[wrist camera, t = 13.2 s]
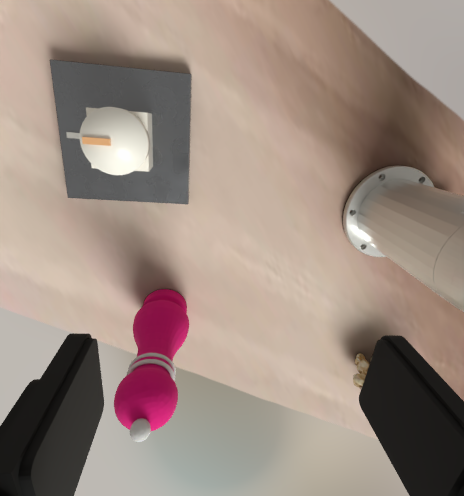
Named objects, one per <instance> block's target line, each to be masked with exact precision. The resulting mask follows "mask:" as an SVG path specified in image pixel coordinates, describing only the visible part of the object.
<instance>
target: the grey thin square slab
mask: <svg viewBox="0 0 464 496" xmlns="http://www.w3.org/2000/svg"><path fill="white" fill-rule="evenodd" d="M50 65H51V73H52V80H53V88H54V95H55V103H56V111H57V118H58V126H59V133H60V141H61V149H62V156H63V164H64V171H65V179H66V187H67V194H68V198H83V199H101V200H120V201H138V202H156V203H175V204H188V202H189V163H190V121H191V80H192V76H191V74H185V73H175V72H165V71H156V70H146V69H136V68H126V67H117V66H107V65H97V64H87V63H78V62H68V61H58V60H50ZM86 107H88V108H102V107H116V108H121V109H125V110H127V111H134V112H145V113H152V137H153V167H152V168H151V170H150V171H149V172H146V171H133V172H131V173H129V174H125V175H111V174H107V173H105V172H102V171H101V170H99V169H95V168H92V166H91V163H90V162H89V160H88V159H87V158H86V156H85V154H84V153H83V150H82V148H81V144H80V129H81V125H82V123H83V121H84V119H85V118H86V117H87V115H86Z"/></svg>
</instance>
